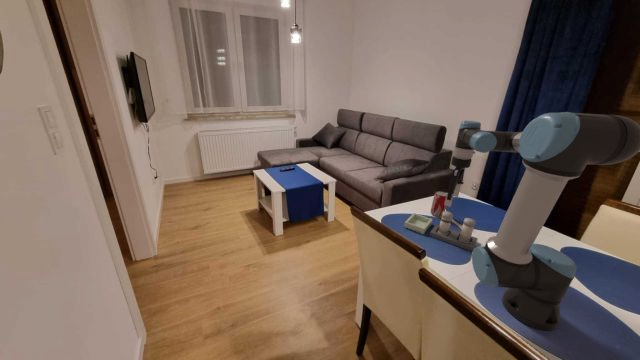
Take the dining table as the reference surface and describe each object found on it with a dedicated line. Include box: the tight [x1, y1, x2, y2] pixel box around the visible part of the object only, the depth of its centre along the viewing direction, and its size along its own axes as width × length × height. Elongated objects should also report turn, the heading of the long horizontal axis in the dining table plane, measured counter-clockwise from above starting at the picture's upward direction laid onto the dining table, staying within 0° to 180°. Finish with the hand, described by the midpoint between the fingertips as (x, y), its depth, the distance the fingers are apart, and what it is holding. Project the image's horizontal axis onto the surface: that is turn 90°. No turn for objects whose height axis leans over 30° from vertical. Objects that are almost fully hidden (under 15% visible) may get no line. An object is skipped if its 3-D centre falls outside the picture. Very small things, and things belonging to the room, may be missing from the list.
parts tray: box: [403, 212, 433, 235], centre depth 134 cm, size 13×10×3 cm
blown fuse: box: [437, 210, 454, 236], centre depth 125 cm, size 5×5×12 cm
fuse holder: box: [429, 217, 478, 253], centre depth 122 cm, size 10×19×12 cm, turn 52°
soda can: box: [430, 190, 447, 218], centre depth 145 cm, size 7×7×13 cm
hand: (451, 201), depth 120 cm, fingers open, 13 cm apart
